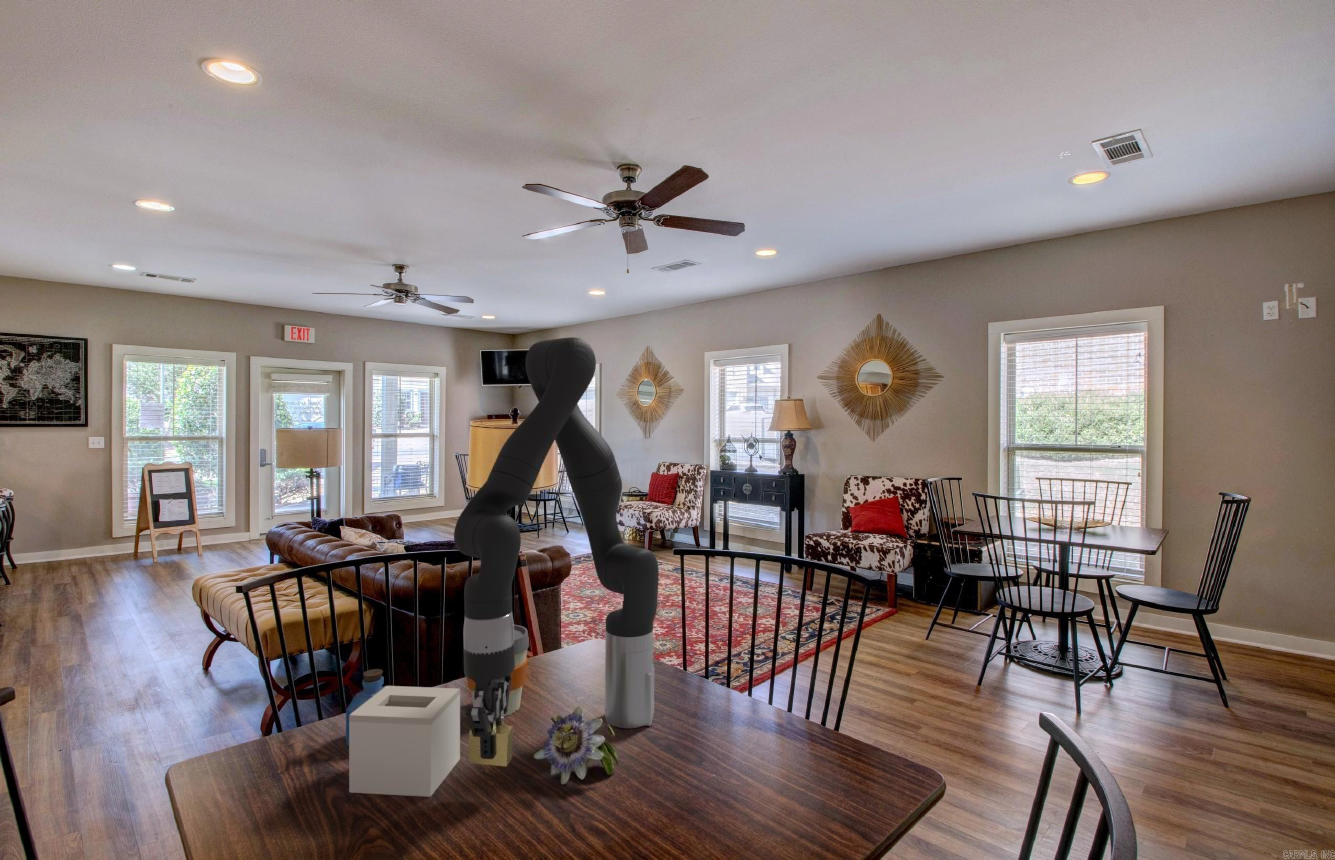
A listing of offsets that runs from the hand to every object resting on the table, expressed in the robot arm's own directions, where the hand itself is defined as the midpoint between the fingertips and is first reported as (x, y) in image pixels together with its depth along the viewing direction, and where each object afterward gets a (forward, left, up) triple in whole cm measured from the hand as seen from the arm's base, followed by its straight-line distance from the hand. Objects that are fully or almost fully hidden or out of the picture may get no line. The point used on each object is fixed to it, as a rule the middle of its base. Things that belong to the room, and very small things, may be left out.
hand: (491, 752), depth 98 cm
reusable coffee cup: (+9, -29, -6) cm, 31 cm away
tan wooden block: (0, 0, -1) cm, 1 cm away
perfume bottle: (+27, -15, -7) cm, 32 cm away
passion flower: (-12, -8, -7) cm, 16 cm away
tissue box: (+15, -4, -6) cm, 17 cm away
